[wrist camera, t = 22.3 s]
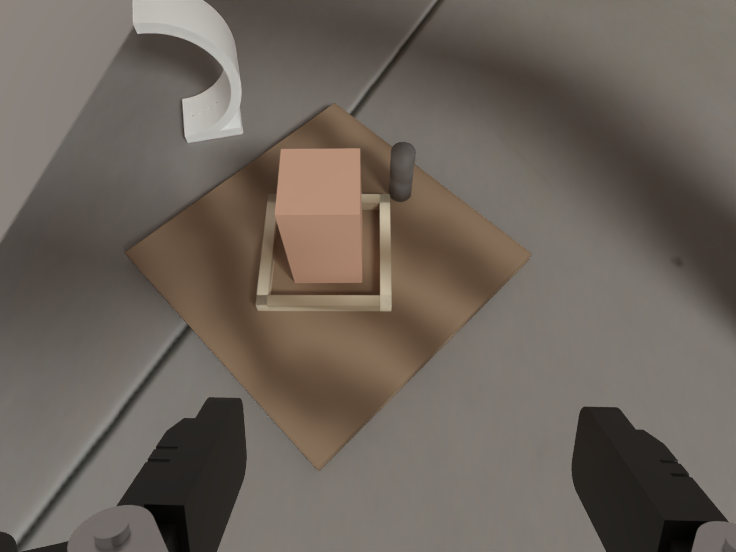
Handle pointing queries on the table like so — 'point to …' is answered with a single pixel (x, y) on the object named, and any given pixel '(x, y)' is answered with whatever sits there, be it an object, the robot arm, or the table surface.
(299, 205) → the key block
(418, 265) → the locating board
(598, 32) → the table surface
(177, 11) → the headphone stand
